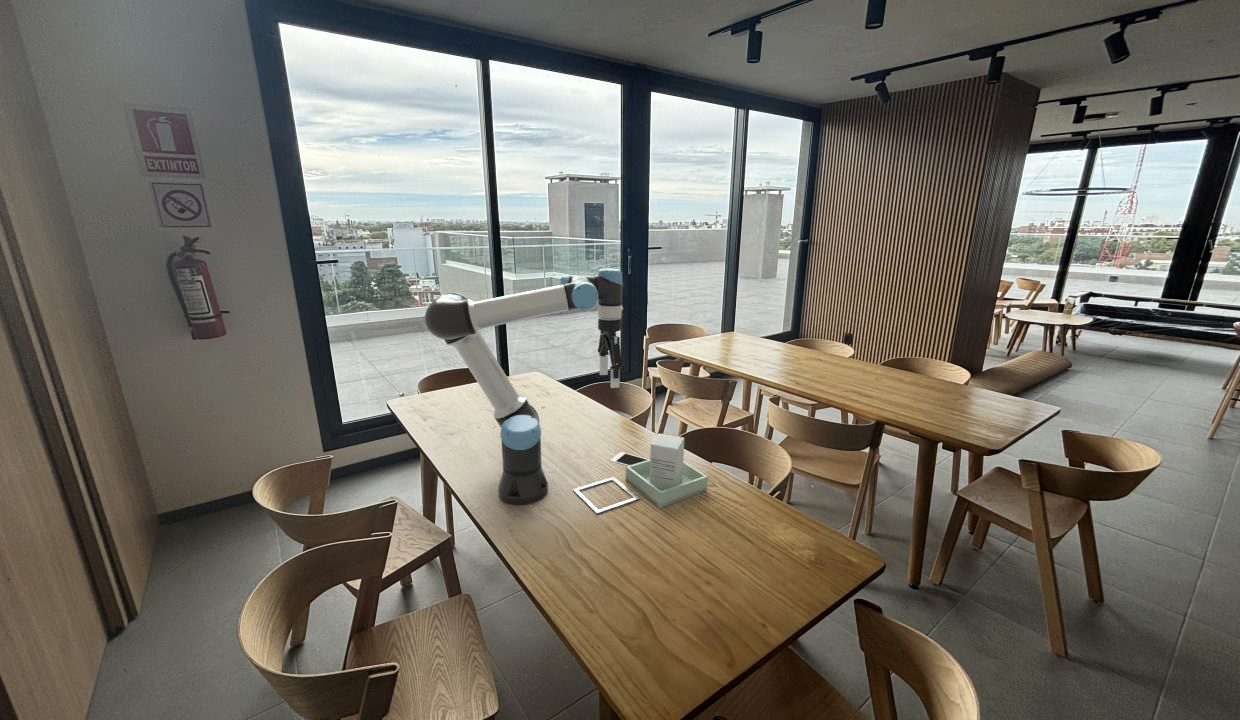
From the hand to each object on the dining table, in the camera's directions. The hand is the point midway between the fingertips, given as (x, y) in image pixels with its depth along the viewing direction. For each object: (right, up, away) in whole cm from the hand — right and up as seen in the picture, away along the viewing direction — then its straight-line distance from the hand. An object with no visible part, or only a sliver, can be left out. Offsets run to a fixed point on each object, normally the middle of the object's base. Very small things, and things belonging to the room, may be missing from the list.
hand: (609, 380), depth 163 cm
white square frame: (-1, -35, -11) cm, 37 cm away
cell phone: (+9, -30, +10) cm, 33 cm away
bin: (+18, -34, -5) cm, 38 cm away
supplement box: (+18, -33, -5) cm, 38 cm away
